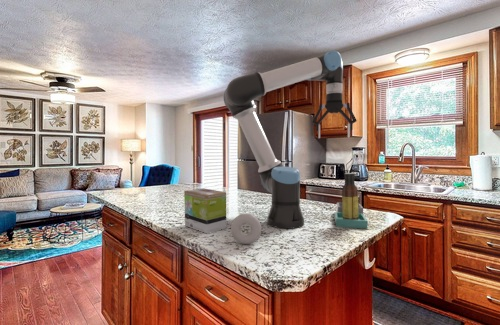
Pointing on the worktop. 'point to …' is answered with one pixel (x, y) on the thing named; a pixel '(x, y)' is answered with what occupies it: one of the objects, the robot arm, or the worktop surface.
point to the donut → (242, 236)
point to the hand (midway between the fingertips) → (333, 137)
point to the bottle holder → (339, 209)
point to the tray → (350, 221)
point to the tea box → (205, 210)
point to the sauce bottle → (350, 198)
